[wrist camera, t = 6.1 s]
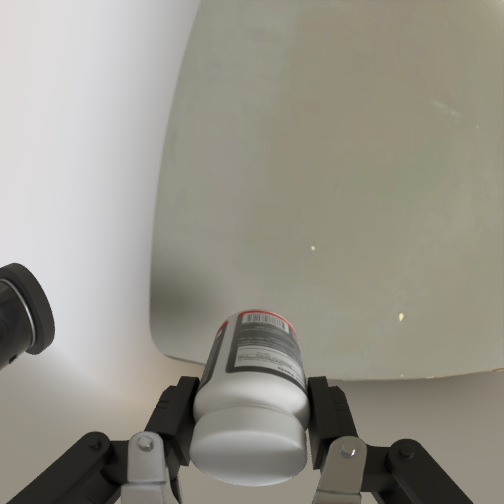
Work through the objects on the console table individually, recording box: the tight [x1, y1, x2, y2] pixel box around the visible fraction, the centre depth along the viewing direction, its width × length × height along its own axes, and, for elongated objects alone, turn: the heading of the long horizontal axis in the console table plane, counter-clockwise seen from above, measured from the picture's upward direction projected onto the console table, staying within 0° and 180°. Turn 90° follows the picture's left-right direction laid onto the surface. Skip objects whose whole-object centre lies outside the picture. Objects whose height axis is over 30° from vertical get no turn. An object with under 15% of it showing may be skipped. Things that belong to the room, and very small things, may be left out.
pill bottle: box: [189, 309, 311, 486], centre depth 11 cm, size 5×5×8 cm
